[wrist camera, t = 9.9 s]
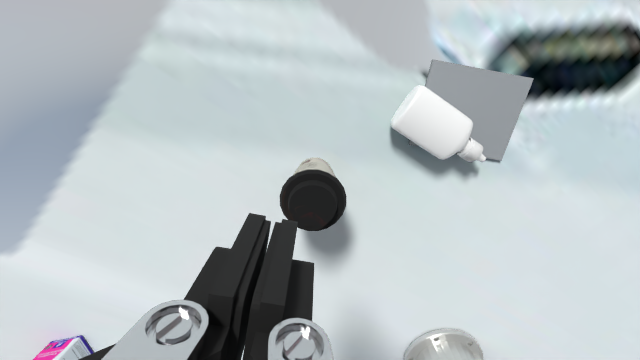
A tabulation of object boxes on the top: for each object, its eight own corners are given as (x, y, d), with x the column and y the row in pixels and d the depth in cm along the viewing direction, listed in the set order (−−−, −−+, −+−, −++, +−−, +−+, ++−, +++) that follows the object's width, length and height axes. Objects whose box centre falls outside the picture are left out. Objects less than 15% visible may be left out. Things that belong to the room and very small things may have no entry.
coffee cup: (291, 144, 38) (282, 168, 29) (346, 153, 39) (354, 180, 29) (284, 194, 41) (273, 232, 31) (335, 202, 41) (340, 242, 32)
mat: (531, 78, 35) (533, 78, 35) (499, 159, 39) (501, 160, 38) (432, 59, 35) (433, 59, 34) (408, 144, 38) (409, 144, 38)
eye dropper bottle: (404, 92, 37) (478, 143, 39) (384, 130, 36) (462, 181, 38) (425, 77, 33) (507, 136, 35) (403, 120, 32) (489, 178, 34)
